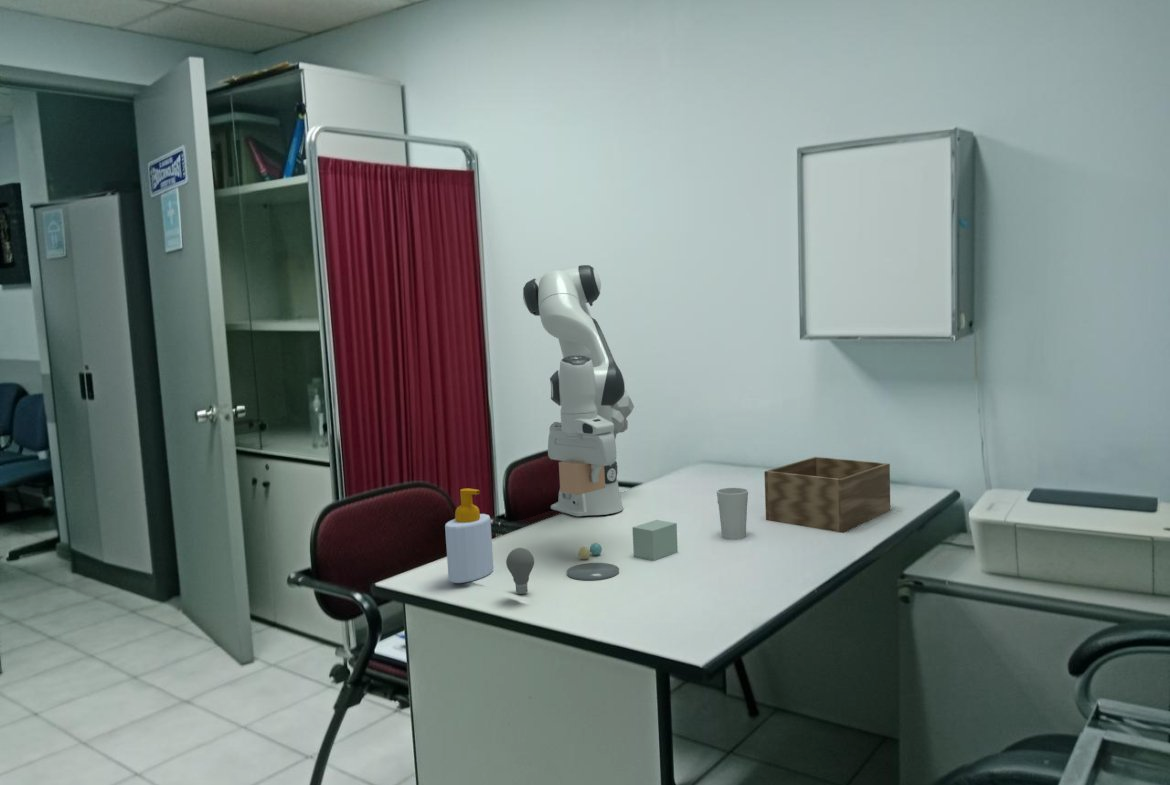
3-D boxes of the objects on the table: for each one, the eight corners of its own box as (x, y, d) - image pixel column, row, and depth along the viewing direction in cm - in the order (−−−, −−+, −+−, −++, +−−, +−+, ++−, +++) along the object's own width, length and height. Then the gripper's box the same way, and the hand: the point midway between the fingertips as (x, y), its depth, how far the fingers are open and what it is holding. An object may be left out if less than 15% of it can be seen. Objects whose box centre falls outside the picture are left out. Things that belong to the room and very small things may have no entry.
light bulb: (508, 590, 201) (505, 545, 200) (535, 588, 202) (533, 543, 201) (508, 599, 195) (505, 552, 194) (536, 596, 196) (533, 551, 195)
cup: (749, 540, 232) (747, 493, 231) (717, 540, 233) (715, 494, 232) (750, 532, 240) (748, 487, 238) (719, 532, 241) (717, 487, 240)
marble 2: (585, 549, 225) (591, 539, 226) (591, 554, 227) (598, 544, 228) (593, 553, 223) (600, 543, 224) (599, 559, 225) (606, 549, 226)
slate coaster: (556, 574, 211) (555, 572, 211) (592, 562, 219) (592, 559, 219) (593, 583, 203) (593, 581, 203) (629, 570, 211) (629, 568, 211)
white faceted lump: (646, 501, 284) (638, 389, 288) (633, 503, 269) (624, 384, 273) (586, 505, 290) (579, 395, 294) (570, 506, 275) (563, 391, 279)
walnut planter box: (765, 522, 250) (764, 471, 248) (815, 504, 268) (814, 456, 267) (842, 534, 233) (841, 480, 232) (890, 514, 252) (889, 463, 250)
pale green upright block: (633, 556, 223) (632, 527, 222) (657, 548, 229) (656, 519, 228) (653, 560, 218) (652, 530, 218) (677, 552, 225) (676, 523, 224)
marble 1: (573, 553, 222) (579, 543, 222) (579, 557, 224) (586, 546, 225) (581, 559, 220) (588, 548, 220) (588, 563, 222) (594, 552, 223)
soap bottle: (466, 585, 206) (461, 496, 204) (439, 581, 210) (433, 494, 208) (502, 569, 217) (497, 485, 215) (475, 565, 221) (470, 483, 220)
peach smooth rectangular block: (560, 491, 221) (558, 462, 220) (586, 485, 228) (584, 456, 227) (579, 494, 217) (577, 464, 216) (605, 487, 223) (603, 458, 222)
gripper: (540, 423, 226) (543, 478, 227) (600, 428, 211) (603, 487, 213) (558, 419, 230) (561, 474, 231) (619, 424, 216) (622, 482, 217)
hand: (582, 480), depth 222 cm, fingers closed on peach smooth rectangular block, 6 cm apart
